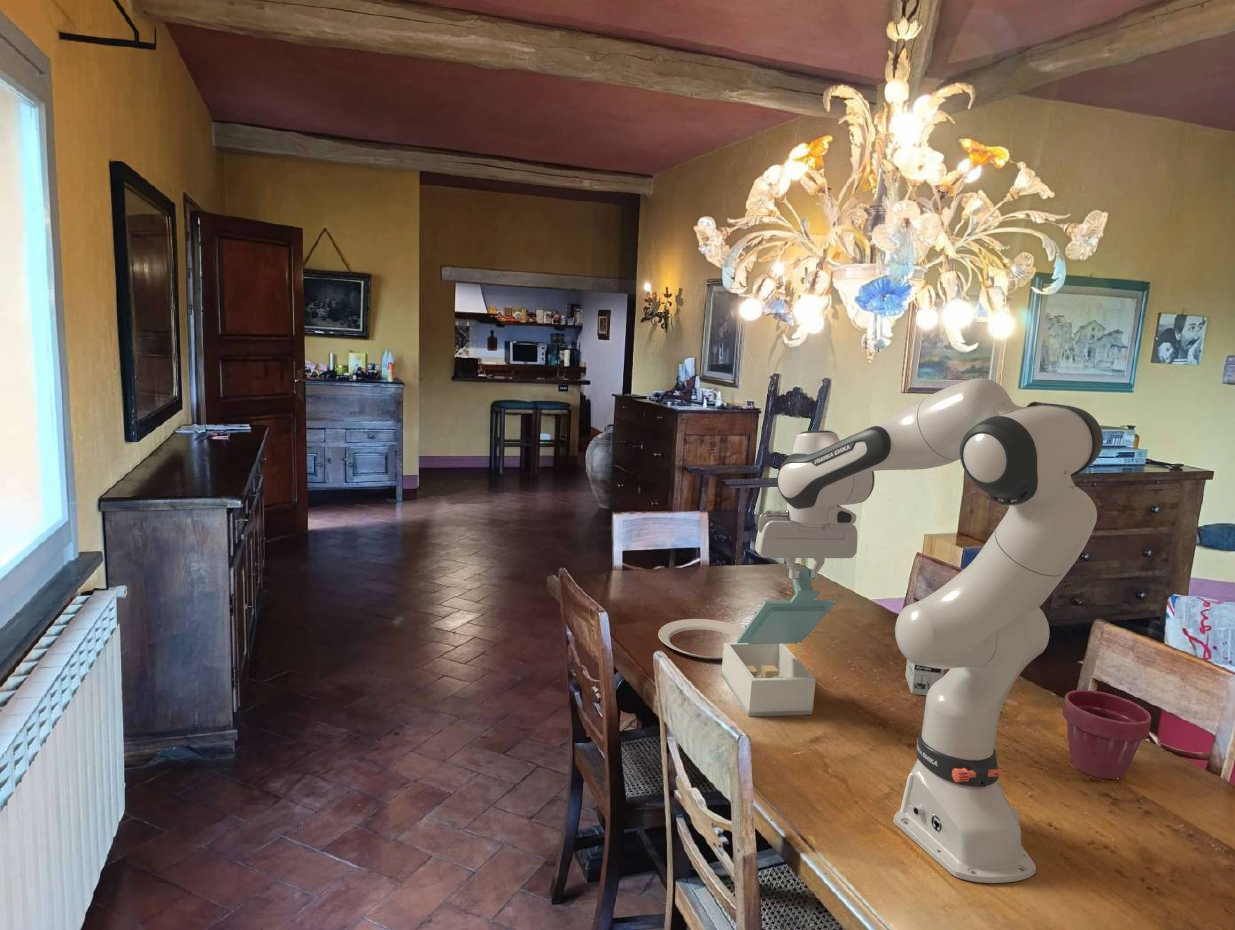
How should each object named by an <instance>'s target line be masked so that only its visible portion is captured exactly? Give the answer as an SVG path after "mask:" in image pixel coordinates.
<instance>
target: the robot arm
mask: <svg viewBox="0 0 1235 930" xmlns="http://www.w3.org/2000/svg"><path fill="white" fill-rule="evenodd" d="M1103 445H1104V435H1103V429H1102V428H1101V426H1100V424H1099V422H1098V420H1096V418H1095V417H1094V416H1093V415H1092V414H1090V413H1089V412H1088V411H1086V410H1084V409H1081V408H1080V407H1079V408H1078V407H1076V406H1073V405H1072V406H1071V405H1068V404H1067V405H1066V404H1057V403H1048V402H1039V401H1031V402H1030V403H1028V404H1027V405H1026V406H1021V405H1018V404H1015V402H1013V401H1012V399H1011V397H1010V395H1009V394H1008V392H1007V390H1006V389H1005V388H1003V386H1002V385H1000V384H999V383H998V382H996V381H994V380H993V379H992V380H991V379H989V378H984V377H977V378H971V379H967V380H964V381H962V382H957V383H955V384H953V385H949V386H947V387H945V388H942V389H940V390H938V391H937V392H934V393H933V394H931V395H928V396H927V397H924V398H922V399H921V400H919V401H917V402H916V403H914V404H912V405H911V406H908V407H907V408H905V409H903V410H901V411H899V412H898V413H896V414H893V415H892V416H890V417H888V418H886V419H884V420H882V421H880V422H877V423H875V424H874V425H872V426H870V427H868V428H865V429H864V430H861V431H859V432H857V433H854V434H852V435H850V436H847V437H845V438H843V439H841V440H840V437H839V436H838V434H837V433H836V432H834V431H833V430H826V429H825V430H824V429H823V430H821V429H819V430H806V431H805V430H804V431H801V432H800V433H798V434H797V436H796V437H795V440H794V444H793V448H792V453H791V454H789V456H787V458H786V459H785V460H784V461H783V462H782V463H781V466H780V468H779V470H778V473H777V476H776V487H777V489H778V491H779V494H780V495H781V497H782V498H783V499H784V501H785V502H786V510H769V509H768V510H766V511H765V512H763V513H761V514H760V515H759V516H758V519H757V533H756V537H755V538H756V540H755V545H754V550H755V552H756V553H757V554H758V555H759V556H760V557H762V558H763V559H784V561H785V564H786V566H787V568H788V570H789V571H788V577H789V579H791V580H792V579H799V574H800V571H799V570H797V569H798V568H795V567H794V564H796V559H813V561H814V563H813V565H812V567H811V568H807V569H808V572H809V576H810V580H817V579H818V573H819V571H820V570H821V568H823V566H824V565H825V560H826V559H852V558H854V556H855V555H856V554H857V550H858V529H857V527H856V525H855V523H856V522H857V514H856V513H854V512H853V511H851V510H850V509H847V508H845V507H844V506H849V505H857V504H862V503H864V502H866V501H867V500H868V498H869V497H870V496H871V494H872V493H873V490H874V486H875V472H877V471H905V470H908V471H909V470H910V471H913V470H914V471H916V470H927V469H932V468H937V467H942V466H946V465H949V464H952V463H954V462H957V461H959V460H960V462H961V465H962V468H963V470H964V472H965V473H966V475H967V476H968V478H969V479H970V481H971V482H973V484H975V486H976V487H978V489H980V490H981V491H983V492H985V493H986V494H987V495H988V496H989V498H990V500H992V501H993V502H995V503H997V504H1000V505H1003V506H1008V510H1007V511H1006V513H1005V515H1004V516H1003V518H1002V519H1001V521H1000V522H999V523H998V525H997V526H996V528H995V529H994V531H993V532H992V534H990V537H989V538H988V540H987V541H986V542H985V544H984V545H983V547H982V548H981V549H980V551H979V552H978V554H976V557H974V559H973V560H972V561H971V562H970V563H969V564H968V565H967V566H966V567H965V568H964V569H963V570H961V571H960V572H959V573H957V574H956V575H955V576H953V578H951V579H950V580H949V581H948V582H946V583H945V584H944V585H942V586H941V587H940V588H938V589H937V590H936V591H934V592H932V593H931V594H929V595H928V596H926V597H924V598H922V599H919V600H918V601H915V602H913V603H911V604H908V605H906V606H904V608H902V610H901V611H900V613H899V614H898V617H897V618H896V622H895V628H894V632H895V633H894V635H895V639H896V644H897V646H898V648H899V651H900V652H901V654H902V655H903V657H904V658H905V659H906V661H907V660H908V661H910V662H911V663H913V664H915V665H919V666H925V667H931V668H938V669H944V670H947V672H946V673H944V676H943V677H942V678H941V679H939V680H938V681H936V682H935V683H934V684H933V685H932V686H931V688H930V689H929V691H928V693H927V696H926V695H925V697H926V698H925V705H924V714H923V721H922V727H921V728H922V729H921V731H920V732H919V734H918V738H917V741H916V751H915V752H916V753H915V756H916V758H917V759H916V761H915V764H914V765H913V767H912V769H911V770H910V772H909V774H908V775H907V780H906V784H905V787H904V793H903V797H902V801H901V806H900V808H899V810H898V811H896V813H894V814H893V820H892V822H893V824H894V825H895V826H897V828H899V829H900V830H901V831H902V832H903V833H905V834H906V835H907V836H908V837H909V838H910V839H911V840H913V842H915V843H916V844H917V845H918V846H919V847H921V848H922V849H923V851H925V852H926V853H927V854H928V855H929V856H930V857H932V859H934V860H935V861H936V862H937V863H938V864H939V865H941V866H942V867H943V868H944V869H945V870H946V871H947V872H949V873H950V874H951V875H953V876H954V877H955V878H958V879H961V880H965V881H969V882H976V883H983V884H984V883H985V884H997V883H999V884H1000V883H1012V882H1017V881H1018V882H1019V881H1023V880H1026V879H1029V878H1031V877H1033V875H1035V874H1036V872H1037V868H1036V867H1037V866H1036V863H1035V862H1034V860H1033V859H1032V858H1031V857H1030V855H1029V854H1028V852H1027V851H1026V850H1025V848H1024V847H1023V846H1022V831H1021V830H1022V829H1021V826H1020V824H1019V823H1020V821H1021V816H1020V815H1021V814H1020V812H1019V809H1018V808H1017V807H1011V805H1010V803H1009V801H1008V798H1007V797H1006V794H1005V791H1004V789H1003V788H1002V787H1001V784H1000V782H999V777H1003V774H1001V773H1002V772H1003V771H1004V770H1003V769H1001V768H1000V769H999V767H998V764H999V762H998V761H999V760H998V758H997V751H996V749H995V743H996V738H997V731H998V726H999V723H1000V716H1001V712H1002V709H1003V705H1004V703H1005V700H1006V698H1007V697H1008V694H1009V692H1010V691H1011V689H1012V687H1013V686H1014V684H1015V682H1016V681H1017V679H1018V677H1019V676H1020V675H1021V673H1022V672H1023V670H1025V668H1026V667H1027V666H1028V665H1029V664H1030V663H1031V662H1032V661H1033V660H1035V659H1036V658H1037V657H1038V656H1040V655H1042V654H1043V652H1044V651H1045V650H1046V648H1047V647H1048V644H1049V639H1050V627H1049V622H1048V620H1047V617H1046V615H1045V613H1044V611H1043V610H1042V609H1041V608H1040V607H1041V606H1042V605H1043V604H1044V603H1045V602H1046V600H1048V598H1049V597H1050V595H1051V594H1052V593H1053V591H1055V588H1057V586H1058V585H1059V584H1060V582H1062V580H1063V578H1064V577H1065V576H1066V575H1067V573H1068V572H1069V571H1070V569H1071V568H1072V567H1073V566H1074V564H1075V563H1076V561H1077V559H1079V557H1080V555H1081V553H1082V552H1083V550H1084V549H1085V547H1086V545H1087V543H1088V542H1089V540H1090V538H1091V536H1092V533H1093V531H1094V528H1095V525H1096V524H1097V520H1098V511H1097V507H1096V505H1095V503H1094V501H1093V499H1092V498H1091V497H1090V496H1089V495H1088V494H1087V493H1086V492H1085V491H1084V490H1082V489H1081V488H1080V487H1078V486H1076V484H1075V483H1074V482H1073V479H1072V477H1073V476H1075V475H1078V474H1079V473H1081V472H1083V471H1085V470H1086V469H1088V468H1090V466H1092V465H1093V464H1094V463H1095V462H1096V461H1097V459H1098V458H1099V456H1100V454H1101V452H1102V450H1103ZM999 499H1000V500H999ZM1001 500H1003V501H1001Z"/></svg>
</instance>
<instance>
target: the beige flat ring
mask: <svg viewBox="0 0 1235 930" xmlns="http://www.w3.org/2000/svg"><path fill="white" fill-rule="evenodd" d="M744 629H745V627H742V626H740V625H738V624H734V623H732V622H731V623H730V622H726V621H722V620H715V619H705V618H687V619H679V620H674V621H671V622H668V623H666V624H664V625H663V626H661V627H660V629H658V634H657V636H658V638H659V640H660V641H661V643H663V644H665V645H666V646H667V647H669V648H671V649H673V650H675V651H677V652H679V653H682V654H683V655H686V656H690V657H693V658H699V659H704V660H723V656H708V655H707V656H706V655H700V654H694V653H690V652H688V651H685V650H682V649H680V648H678V647H676V646H675V645H673V644H672V643H671V638H672V637H673V636H674V635H676V634H678V633H681V632H686V631H690V630H691V631H694V630H706V631H714V632H720V633H723V634H727V635H731V636H733V637H735V638H737V639H738V638H739V636H740V635H741V634H742V632H743V631H744Z"/></svg>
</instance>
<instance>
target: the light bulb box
mask: <svg viewBox="0 0 1235 930" xmlns="http://www.w3.org/2000/svg"><path fill="white" fill-rule="evenodd" d="M944 675H945V669H938V668H931V667H925V666H919V665H915V664H913V663H911V662H910V661H908V660H907V659H906V667H905V674H904V677H905V680H906V682H907V685H908V688H909V691H910V693H911V694H912V695H918V696H919V695H920V696H925V697H926V696H927V693H928V691H929V689H930V688H931V686H932V685H933V684H934V683H935V682H936V681H938V680H939V679H941V678H942V677H943V676H944Z"/></svg>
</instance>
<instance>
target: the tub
mask: <svg viewBox="0 0 1235 930" xmlns="http://www.w3.org/2000/svg"><path fill="white" fill-rule="evenodd" d="M722 657H723V659H722V662H721V674H720V675H721V677H722V679H723V680H724V682H725V683H726V685H727V686H728V688H729V689H730V691H731V693H732V694H733V695H734V697H735V699H736V700H737V701H738V703H739V704H740V706H741V707H742V709H743V711H744V712H745V713H746V714H747V716H748V717H776V716H777V717H778V716H779V717H780V716H781V717H782V716H783V717H784V716H809V715H810V716H811V715H812V716H813V710H814V703H815V702H814V701H815V690H816V681H817V679H816V677H814V675H813V674H812V673H811V672H810V671H809V670H808V668H806V667H805V666H804V665H803V663H802V662H801V661H800V660H799V659H798V658H797V657H796V656H795V654H793V653H792V651H791V650H790V649H789V648H788V647H787V646H786V644H748V643H737V642H723V650H722Z"/></svg>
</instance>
